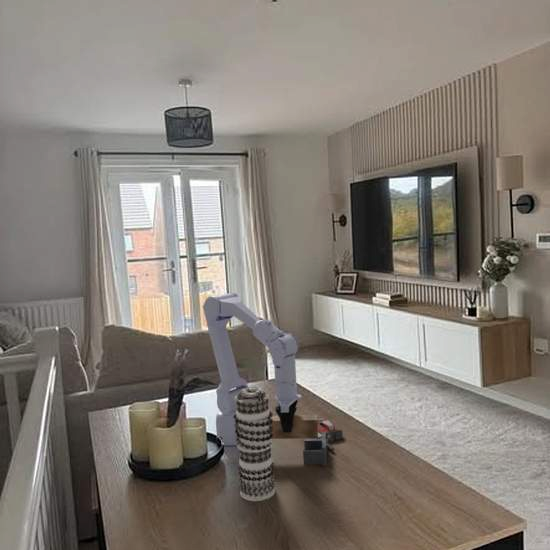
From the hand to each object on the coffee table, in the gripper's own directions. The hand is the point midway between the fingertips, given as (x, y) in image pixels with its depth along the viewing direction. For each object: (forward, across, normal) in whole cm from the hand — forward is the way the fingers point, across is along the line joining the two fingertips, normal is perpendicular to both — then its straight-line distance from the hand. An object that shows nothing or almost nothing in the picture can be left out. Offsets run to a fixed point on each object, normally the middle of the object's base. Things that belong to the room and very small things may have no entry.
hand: (288, 428), depth 139 cm
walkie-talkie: (+9, +13, -10) cm, 19 cm away
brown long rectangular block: (+2, 0, 0) cm, 2 cm away
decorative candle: (+8, -18, +6) cm, 21 cm away
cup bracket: (+8, 0, -7) cm, 11 cm away
